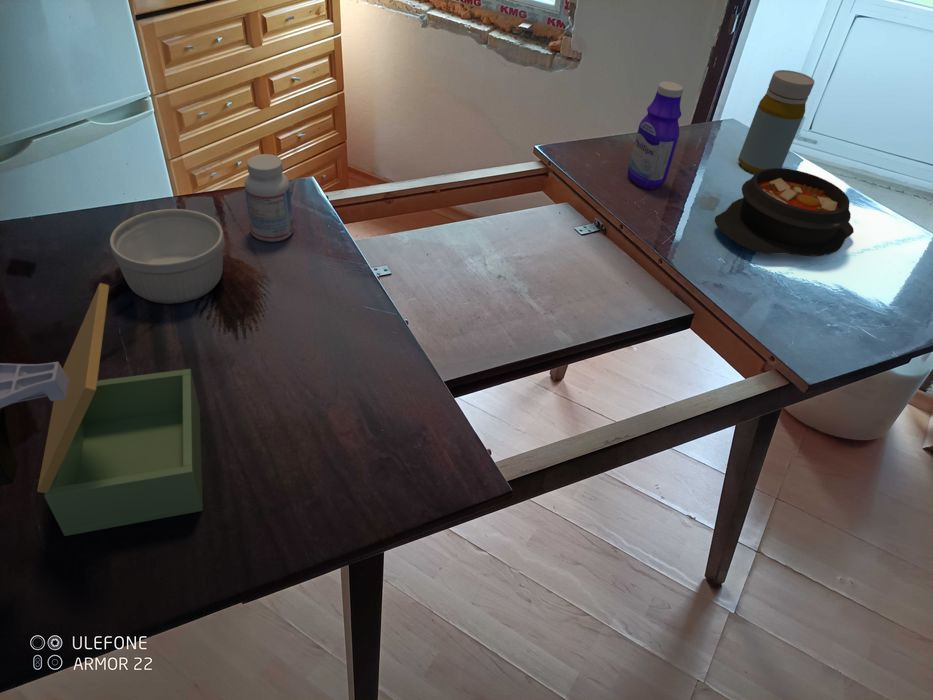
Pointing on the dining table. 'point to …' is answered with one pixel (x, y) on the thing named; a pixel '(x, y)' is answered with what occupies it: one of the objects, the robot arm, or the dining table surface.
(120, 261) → the ramekin
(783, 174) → the casserole
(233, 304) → the dining table surface
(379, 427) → the dining table surface
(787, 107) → the bottle
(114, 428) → the green open cubby
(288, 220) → the pill bottle
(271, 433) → the dining table surface
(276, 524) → the dining table surface
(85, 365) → the yellow box lid
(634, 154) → the bottle
